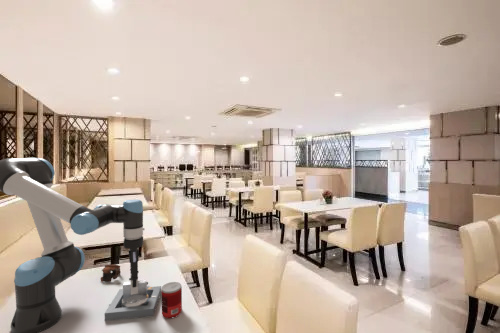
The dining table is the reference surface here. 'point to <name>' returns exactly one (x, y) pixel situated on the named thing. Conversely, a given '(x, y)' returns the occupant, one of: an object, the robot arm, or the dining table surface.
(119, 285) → the dining table surface
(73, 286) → the dining table surface
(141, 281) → the dial
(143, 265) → the dining table surface
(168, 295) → the canned food
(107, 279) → the pottery mug
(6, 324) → the dining table surface
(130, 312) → the grey square tray
